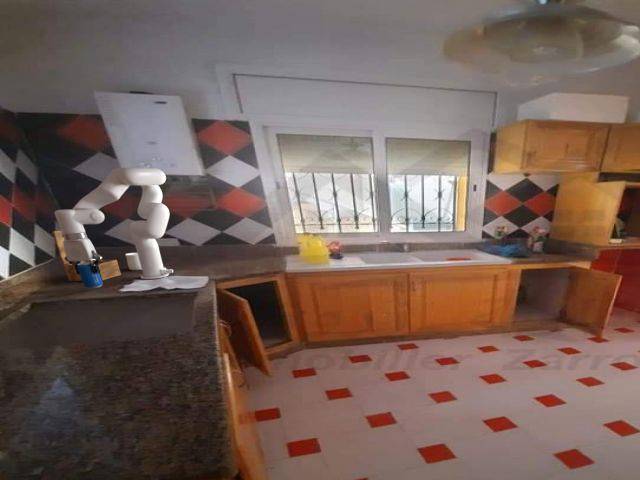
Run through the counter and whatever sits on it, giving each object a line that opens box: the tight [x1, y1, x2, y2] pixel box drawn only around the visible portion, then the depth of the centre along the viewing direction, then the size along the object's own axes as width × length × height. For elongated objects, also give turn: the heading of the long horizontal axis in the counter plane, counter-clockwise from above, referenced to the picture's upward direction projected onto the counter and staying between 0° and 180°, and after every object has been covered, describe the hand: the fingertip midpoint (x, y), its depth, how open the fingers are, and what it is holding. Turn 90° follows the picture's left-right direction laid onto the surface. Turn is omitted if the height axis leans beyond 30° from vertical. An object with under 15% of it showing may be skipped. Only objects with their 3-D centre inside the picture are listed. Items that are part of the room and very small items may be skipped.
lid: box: [51, 230, 70, 265], centre depth 172 cm, size 17×13×5 cm
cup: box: [124, 252, 142, 271], centre depth 198 cm, size 10×10×10 cm
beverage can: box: [77, 262, 104, 289], centre depth 154 cm, size 6×6×12 cm
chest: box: [63, 259, 122, 282], centre depth 177 cm, size 17×13×9 cm
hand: (89, 273), depth 154 cm, fingers closed on beverage can, 6 cm apart
